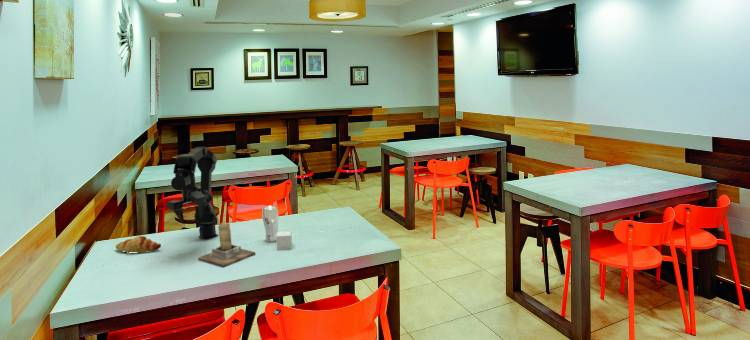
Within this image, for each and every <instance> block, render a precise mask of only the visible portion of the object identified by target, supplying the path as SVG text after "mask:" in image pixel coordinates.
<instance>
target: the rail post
mask: <svg viewBox="0 0 750 340" xmlns="http://www.w3.org/2000/svg"><path fill="white" fill-rule="evenodd" d="M217 225H218V226H217V227H218V237H219V246H220V247H221V251H224V252H225V251H228V250H231V249H232V245H233V244H232V234H231V226H230V225H231V224H230V223H229V222H221V223H218V224H217Z"/></svg>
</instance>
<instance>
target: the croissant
mask: <svg viewBox="0 0 750 340" xmlns="http://www.w3.org/2000/svg"><path fill="white" fill-rule="evenodd" d="M161 247H162V244H161V243H157V242H156V241H152V240H151V238H147V237H146V236H145V235H139V236H136V237H133V238H129V239H126V240H124V241H121V242H119V243H117V244H116V245H115V248H116V250H117V249H118V251H119V250H120V251H119V252H121V251H125V252H128V253H129V252H143V253H147V252H146V251H151V252H154V250H155V251H157V250H159V249H160V248H161ZM128 253H127V254H128ZM129 254H130V253H129Z"/></svg>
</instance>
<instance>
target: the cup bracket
mask: <svg viewBox="0 0 750 340" xmlns="http://www.w3.org/2000/svg"><path fill="white" fill-rule="evenodd" d="M253 256H256V252H255V251H252V250H247V249H245V248H241V246H239V245H237V244H232V249H231V250H228V251H225V252H224V251H221V247H220V245H219V246H217V247H214V248H212V249H211V252H210V253H206V254H204V255H201V256H199V257H197V260H198V261H202V262H204V263H207V264H210V265H214V266H218V267H221V268H225V267H228V266H230V265H233V264H236V263H238V262H241V261H243V260H246V259H248V258H250V257H253Z"/></svg>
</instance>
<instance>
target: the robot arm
mask: <svg viewBox="0 0 750 340" xmlns="http://www.w3.org/2000/svg"><path fill="white" fill-rule="evenodd" d="M217 161H218V160H217V156H216V154H215V153H214V152H213V151H210V150H209V149H208V148H207V147H205V146H197V147H194V149H193V150H191V151H190V152H188V153H187V154H181V155H178V156H177V157H176V159H175V162H174V167H173V174H174V175H175V176H174V177H173V178H172V179H171V182H170V184H171V187H172V188H173V189H174V190H176V191H181V195H182V196H181V197H180V200H177V199H173V200H170V201H167V203H166V209H168V210H170V211H172V212H174V214H175V216H176V218H178V220H179V221H180V223H181V224H184V223H185V219H184V213H183V212H184V210H185V209H184V208H183V207H184V206H185V205H190V204H194V205H195V213H194V216H193V218H194V220H195V221H194V222H195V225H196V227H197V226H199V229H198V232H199V236H198V238H200V239H204V240H209V239H212V238H215V237H219V233H218V234H217V231H216V225H219V221H218V216H217V215H216V213H215V209H214V207H213V205H212V201H213V195H212V174H213V172H214V171H215V169H216V164H217ZM196 168H198V170H199V171H200V189H199V187H198V186H197V184H196V175H195V173H196V170H197V169H196ZM196 205H197V206H196Z"/></svg>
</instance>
